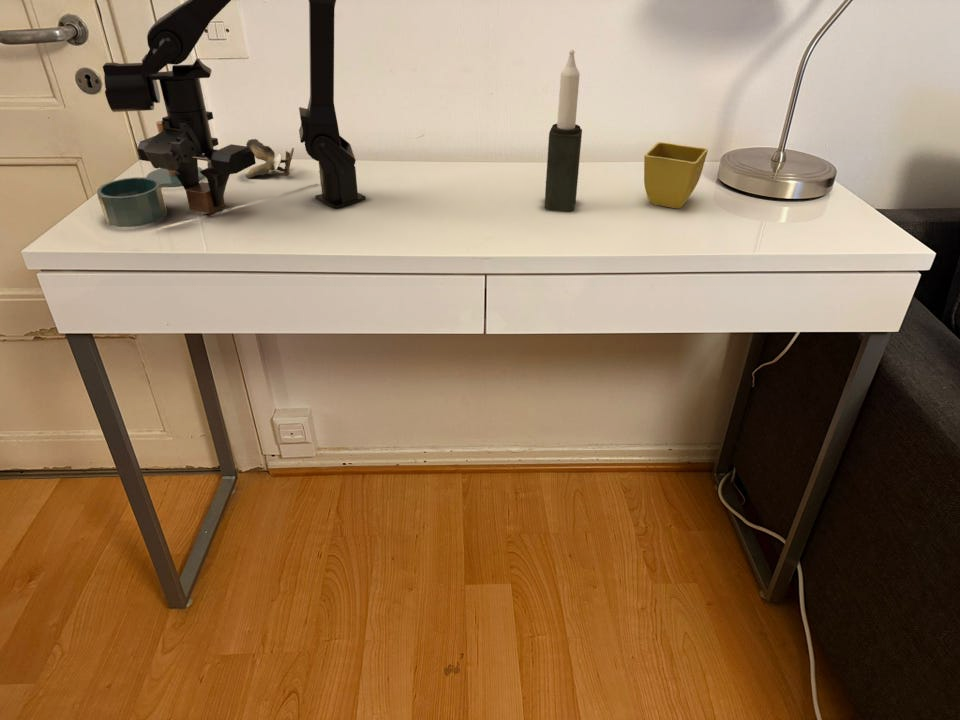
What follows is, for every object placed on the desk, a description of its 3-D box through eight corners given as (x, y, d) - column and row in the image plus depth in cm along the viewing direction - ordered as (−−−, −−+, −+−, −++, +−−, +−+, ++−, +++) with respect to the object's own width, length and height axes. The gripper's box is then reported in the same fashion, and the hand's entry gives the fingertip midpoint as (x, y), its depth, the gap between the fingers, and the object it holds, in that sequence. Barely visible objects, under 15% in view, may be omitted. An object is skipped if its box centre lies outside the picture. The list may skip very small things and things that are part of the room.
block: (225, 207, 117) (221, 185, 115) (210, 216, 114) (205, 193, 112) (206, 204, 119) (201, 181, 116) (190, 212, 115) (185, 189, 113)
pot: (177, 219, 113) (169, 187, 110) (120, 234, 108) (110, 202, 105) (153, 203, 119) (145, 173, 116) (98, 218, 113) (88, 186, 110)
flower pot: (636, 206, 120) (643, 154, 115) (650, 190, 126) (658, 140, 121) (687, 215, 117) (696, 162, 111) (699, 199, 123) (708, 148, 118)
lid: (215, 180, 128) (202, 122, 122) (161, 194, 122) (146, 133, 116) (190, 167, 134) (177, 111, 128) (138, 179, 128) (122, 121, 122)
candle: (573, 212, 117) (587, 53, 103) (543, 209, 118) (553, 51, 104) (576, 201, 121) (590, 47, 107) (547, 199, 122) (557, 45, 108)
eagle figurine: (295, 161, 134) (248, 153, 133) (293, 137, 127) (243, 127, 126) (287, 194, 131) (239, 185, 130) (284, 170, 124) (233, 161, 123)
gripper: (98, 114, 104) (127, 213, 112) (200, 128, 98) (222, 231, 107) (152, 97, 112) (174, 190, 121) (248, 109, 107) (265, 206, 116)
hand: (207, 204), depth 116 cm, fingers closed on block, 4 cm apart
